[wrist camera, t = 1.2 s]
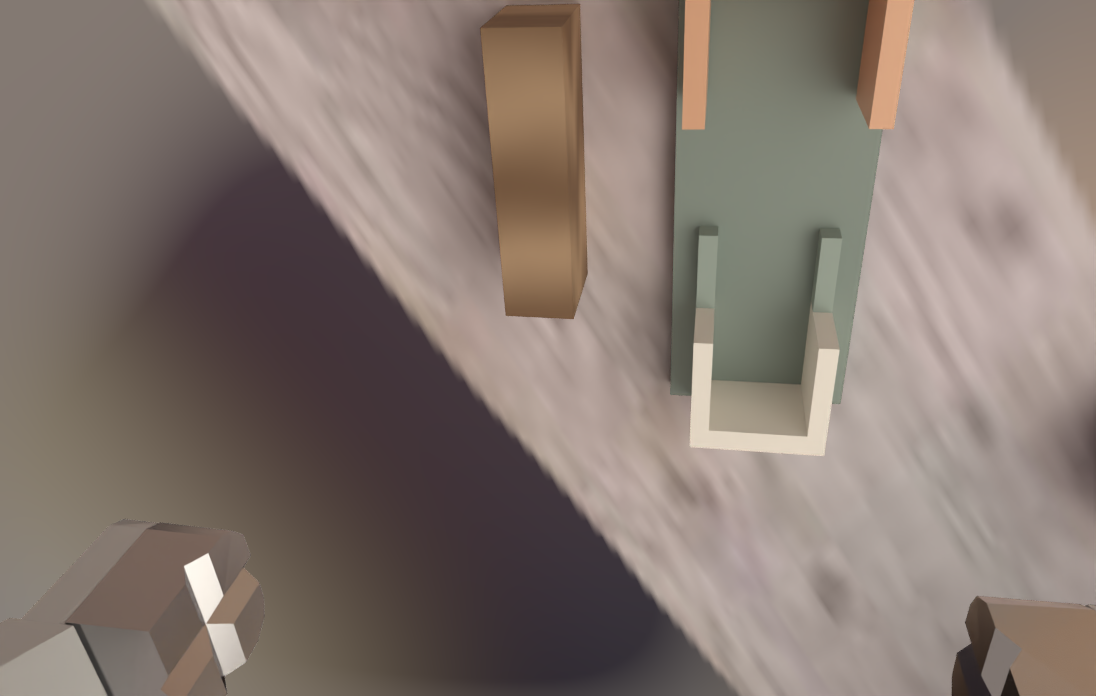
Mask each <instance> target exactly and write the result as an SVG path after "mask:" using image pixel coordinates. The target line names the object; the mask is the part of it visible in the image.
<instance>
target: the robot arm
mask: <svg viewBox="0 0 1096 696" xmlns="http://www.w3.org/2000/svg"><path fill="white" fill-rule="evenodd" d="M250 556H251V554H250V552H249V549H248V547H247V544H246V541H245V538H244V536H243V535H242V534H240V533H237V532H234V531H230V530H221V529H213V528H204V527H195V526H187V525H178V524H169V523H161V522H160V523H154V522H145V521H136V520H128V519H123V520H121V521H118V522H116V523H113V524H111V525H109V526H108V527H107V528H106V529H105V530H104V531H103V533H102V534H101V535H100V536H99V537H98V538H97V539H96V540H95V541H94V542H93V543H92V544H91V545H90V547H88V548H87V550H86V551H85V552H84V553H83V554H82V555H81V556H80V557H79V558H78V559H77V560H76V561H75V562H74V563H73V564H72V566H71V567H70V568H69V569H68V570H67V571H66V572H65V573H64V574H63V575H62V576H61V577H60V578H59V579H58V580H57V582H56V583H55V584H54V585H53V586H52V587H51V588H50V589H49V590H48V591H47V592H46V593H45V594H44V595H43V596H42V597H41V599H40V600H39V601H38V602H37V603H36V604H35V605H34V606H33V607H32V608H31V609H30V610H29V611H28V612H27V614H25V616H24V617H23V618H22V619H13V618H9V619H7V620H5V621H3V622H1V623H0V696H226V695H227V689H226V682H225V675H227V674H228V673H230V672H232V671H233V670H235V669H236V668H238V667H239V666H241V665H242V664H244V663H245V662H246V661H247V660H248V658H249V656H250V654H251V653H252V651H253V649H254V647H255V646H256V644H257V642H258V639H259V636H260V632H261V628H262V624H263V620H264V617H265V614H264V596H263V593H262V590H261V586H260V583H259V582H258V581H257V580H256V579H255V578H254V577H253V576H252V575H251V574H249V572H247V571H246V570H245V569H244V566H245V564H246V563H247V561H248V559H249V558H250ZM965 624H966V627H967V630H968V634H969V637H970V640H971V644H970V645H968V646H967V647H965V648H964V649H962V650H961V651H959V652H958V653H957V655H956V660H955V664H954V669H953V673H952V696H1096V605H1085V606H1083V605H1081V604H1072V603H1059V602H1047V601H1034V600H1021V599H1009V598H996V597H984V596H977V597H976V598H975V599H974V600H973V602H972V603H971V604H970V607H969V611H968V614H967V618H966V621H965Z"/></svg>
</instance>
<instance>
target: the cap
mask: <svg viewBox="0 0 1096 696" xmlns="http://www.w3.org/2000/svg"><path fill="white" fill-rule="evenodd" d="M913 5H914V0H869V5H868V12H867V19H866V27H865V34H864V42H863V49H862V57H861V64H860V72H859V79H858V86H857V94H856V101H857V103H858V105H859V107H860V110H861V112H862V114H863V116H864V119H865V121H866V123H867V125H868V128H869V129H894V123H895V117H896V111H897V105H898V98H899V92H900V86H901V80H902V74H903V67H904V61H905V55H906V49H907V43H908V36H909V30H910V24H911V18H912V12H913ZM710 15H711V0H685V33H684V72H683V111H682V130H694V129H705V119H706V107H707V89H708V64H709V40H710Z"/></svg>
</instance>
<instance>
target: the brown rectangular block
mask: <svg viewBox="0 0 1096 696" xmlns="http://www.w3.org/2000/svg"><path fill="white" fill-rule="evenodd" d="M480 32H481V43H482V54H483V66H484V77H485V88H486V99H487V110H488V122H489V133H490V144H491V155H492V166H493V178H494V189H495V200H496V211H497V222H498V234H499V245H500V256H501V267H502V278H503V290H504V301H505V312H506V316H522V317H543V318H563V319H574V316H575V313H576V309H577V306H578V303H579V300H580V296H581V293H582V290H583V287H584V284H585V280H586V277H587V274H588V271H587V236H586V200H585V165H584V130H583V94H582V59H581V24H580V4H558V5H510V6H506V7H504V8H503V9H502V10H501V11H500V12H498V13H497V14H496V15H495V16H494V17H493V18H491V19H490V20H489V21H488V22H487V23H486V24H484V25H483V26H482V27H481V28H480Z"/></svg>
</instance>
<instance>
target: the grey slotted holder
mask: <svg viewBox="0 0 1096 696" xmlns="http://www.w3.org/2000/svg"><path fill="white" fill-rule="evenodd" d="M868 5H869V0H711V15H710V40H709V64H708V89H707V107H706V119H705V129H694V130H682V111H683V72H684V33H685V0H679V19H678V65H677V111H676V157H675V203H674V249H673V296H672V342H671V388H670V395H686V396H692V399H691V425H690V447H697V448H712V449H727V450H741V451H756V452H771V453H786V454H801V455H815V456H824V453H825V446H826V439H827V432H828V426H829V419H830V412H831V405H832V404H840V403H841V397H842V390H843V384H844V377H845V371H846V364H847V358H848V351H849V345H850V338H851V332H852V325H853V319H854V312H855V306H856V299H857V293H858V286H859V280H860V273H861V267H862V260H863V254H864V247H865V241H866V234H867V228H868V221H869V215H870V208H871V202H872V195H873V189H874V182H875V176H876V169H877V163H878V156H879V150H880V144H881V137H882V131H883V129H869V128H868V125H867V123H866V121H865V119H864V116H863V114H862V112H861V110H860V107H859V105H858V103H857V101H856V94H857V86H858V79H859V72H860V64H861V57H862V49H863V42H864V34H865V27H866V19H867V12H868Z"/></svg>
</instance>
